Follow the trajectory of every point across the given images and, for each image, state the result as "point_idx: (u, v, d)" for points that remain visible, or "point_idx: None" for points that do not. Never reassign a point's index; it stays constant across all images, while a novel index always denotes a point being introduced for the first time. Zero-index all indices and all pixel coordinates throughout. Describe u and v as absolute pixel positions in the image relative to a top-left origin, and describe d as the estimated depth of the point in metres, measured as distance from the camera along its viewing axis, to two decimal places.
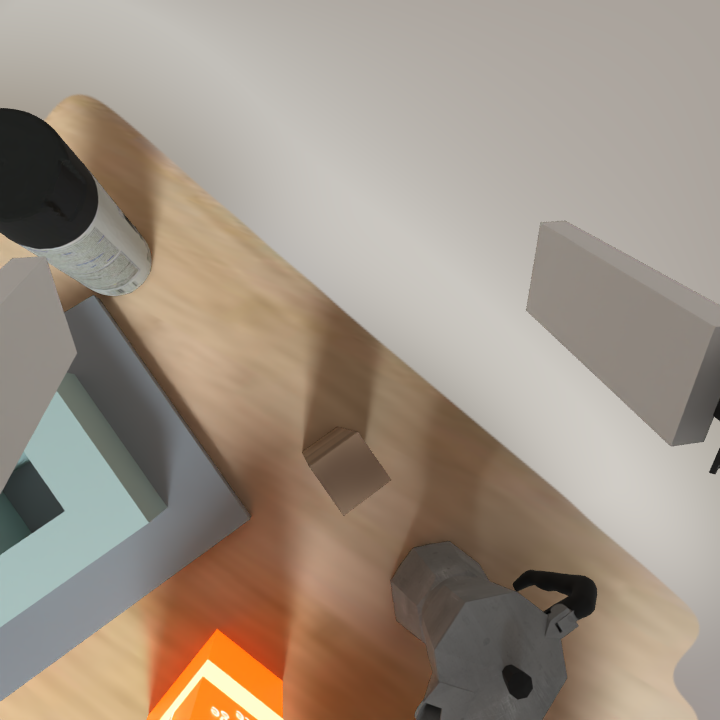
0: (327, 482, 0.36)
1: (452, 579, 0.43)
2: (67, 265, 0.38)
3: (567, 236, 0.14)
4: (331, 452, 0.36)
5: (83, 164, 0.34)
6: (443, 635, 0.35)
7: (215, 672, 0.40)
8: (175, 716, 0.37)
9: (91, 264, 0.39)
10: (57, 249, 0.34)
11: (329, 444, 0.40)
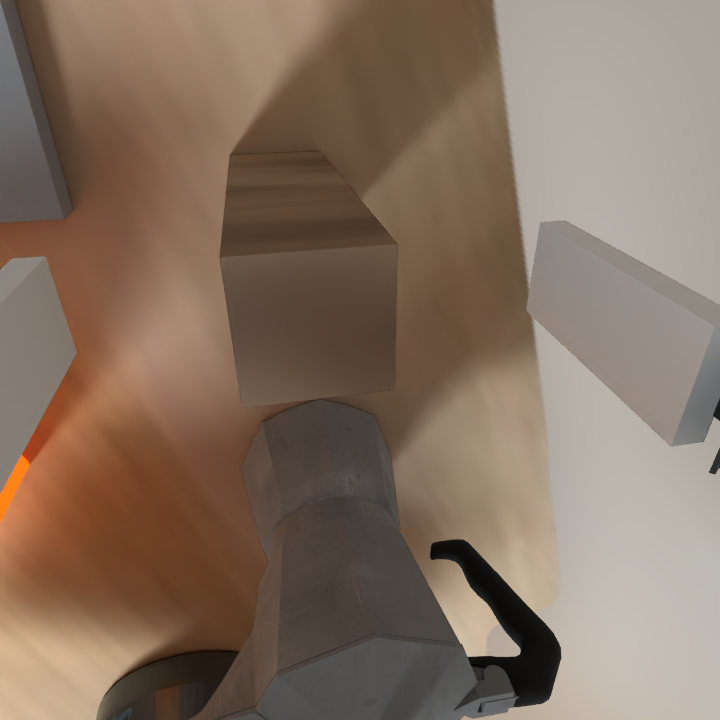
0: (245, 319, 0.12)
1: (357, 505, 0.25)
2: None
3: (568, 236, 0.14)
4: (299, 254, 0.12)
5: None
6: (306, 662, 0.18)
7: None
8: None
9: None
10: None
11: (297, 202, 0.16)
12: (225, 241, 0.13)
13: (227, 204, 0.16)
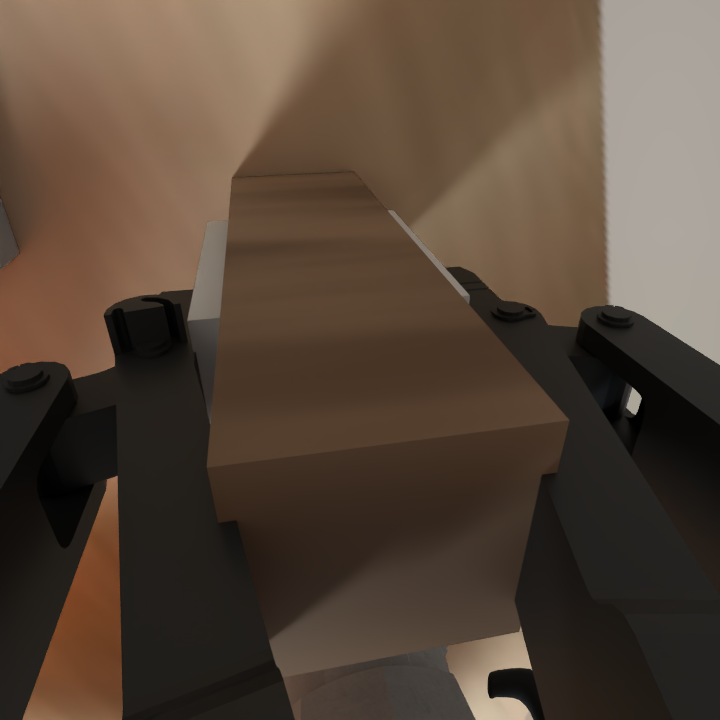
0: (260, 562, 0.06)
1: None
2: None
3: None
4: (373, 451, 0.06)
5: None
6: None
7: None
8: None
9: None
10: None
11: (342, 283, 0.10)
12: (220, 402, 0.06)
13: (226, 286, 0.10)
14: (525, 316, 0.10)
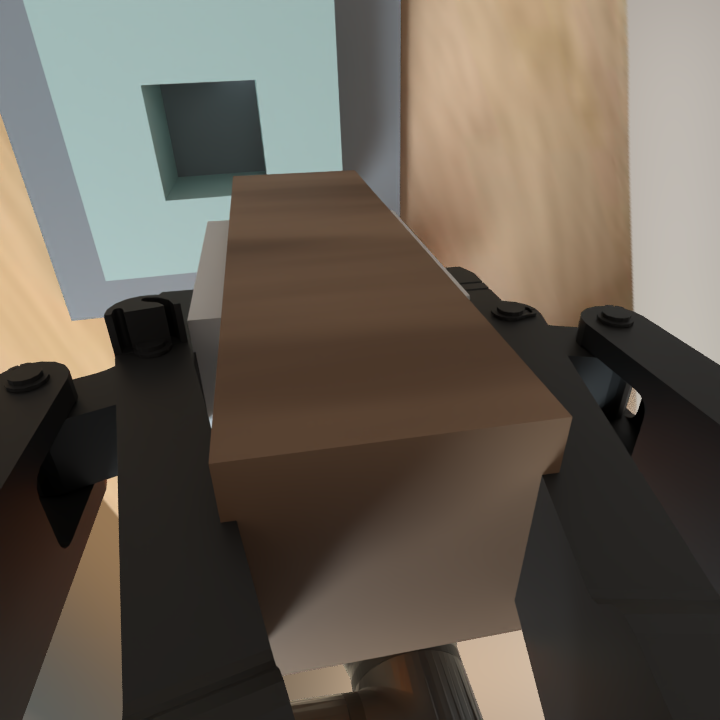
0: (261, 559, 0.06)
1: None
2: None
3: None
4: (376, 447, 0.06)
5: None
6: None
7: None
8: None
9: None
10: None
11: (343, 280, 0.10)
12: (222, 399, 0.06)
13: (228, 283, 0.09)
14: (525, 316, 0.10)
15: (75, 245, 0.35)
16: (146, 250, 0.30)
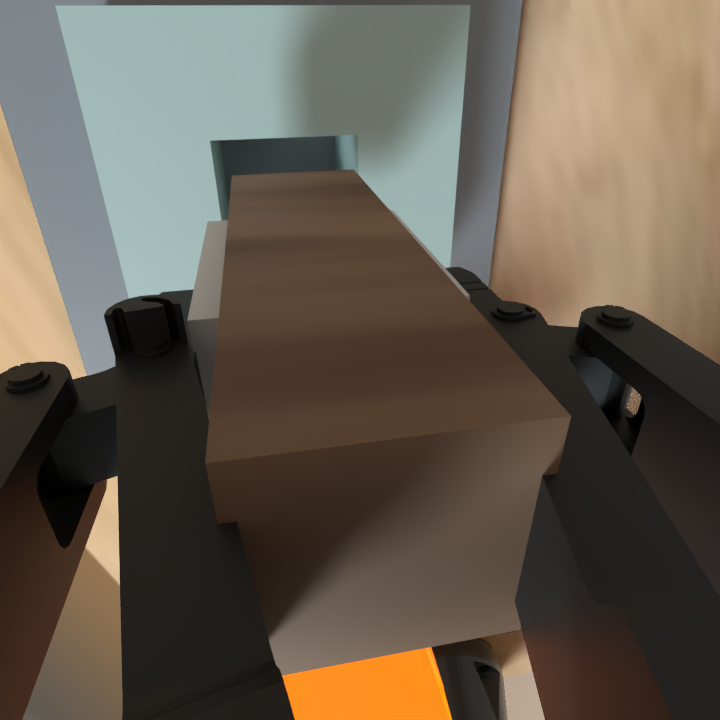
0: (258, 559, 0.06)
1: None
2: None
3: None
4: (374, 446, 0.06)
5: None
6: None
7: None
8: None
9: None
10: None
11: (342, 279, 0.10)
12: (219, 398, 0.06)
13: (226, 282, 0.09)
14: (525, 316, 0.10)
15: (103, 314, 0.29)
16: None
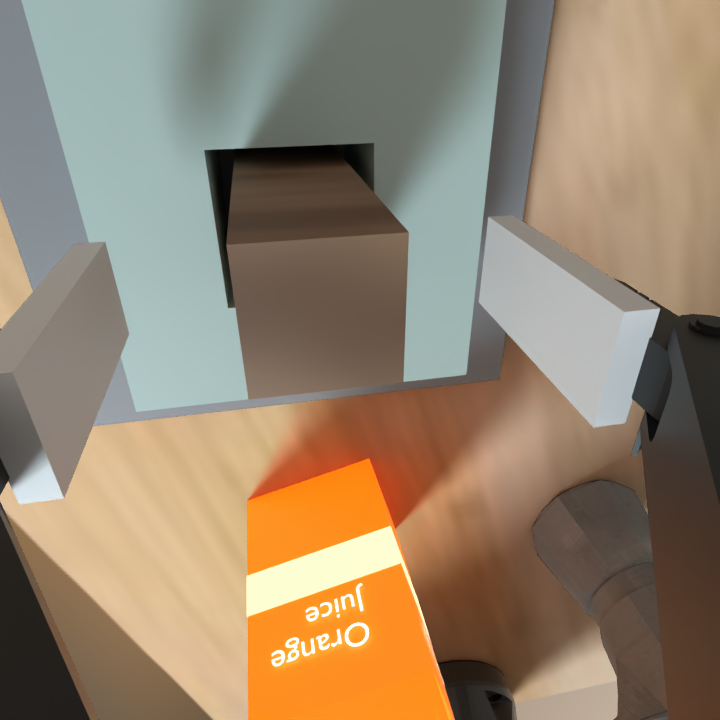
0: (252, 309, 0.12)
1: None
2: None
3: (510, 230, 0.14)
4: (308, 242, 0.12)
5: None
6: None
7: (397, 547, 0.30)
8: (361, 600, 0.27)
9: None
10: None
11: (305, 190, 0.15)
12: (232, 229, 0.12)
13: (233, 192, 0.15)
14: None
15: None
16: (195, 372, 0.21)
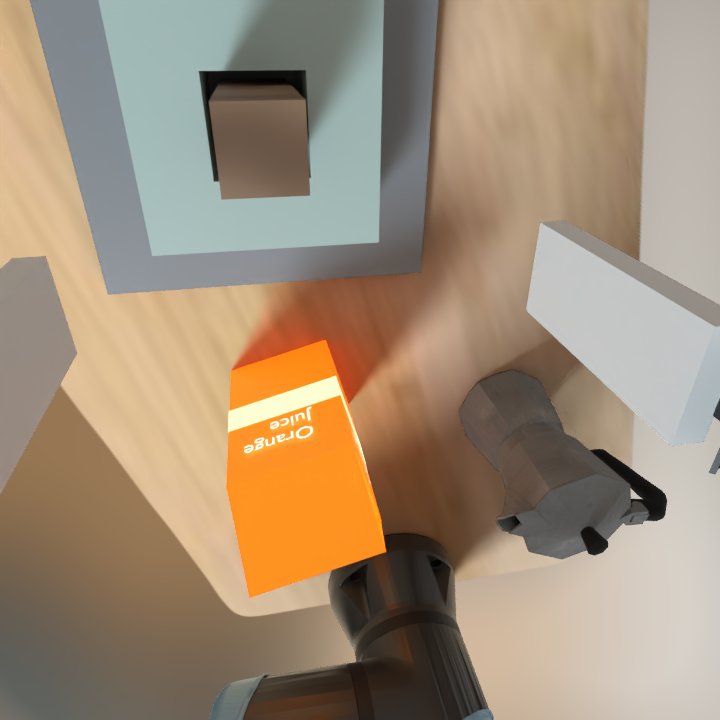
0: (223, 141, 0.23)
1: (552, 426, 0.47)
2: None
3: (568, 236, 0.14)
4: (251, 102, 0.22)
5: None
6: (563, 484, 0.39)
7: (340, 391, 0.41)
8: (310, 416, 0.38)
9: None
10: None
11: (258, 91, 0.26)
12: (212, 98, 0.23)
13: (215, 91, 0.26)
14: None
15: (116, 221, 0.37)
16: (192, 228, 0.32)
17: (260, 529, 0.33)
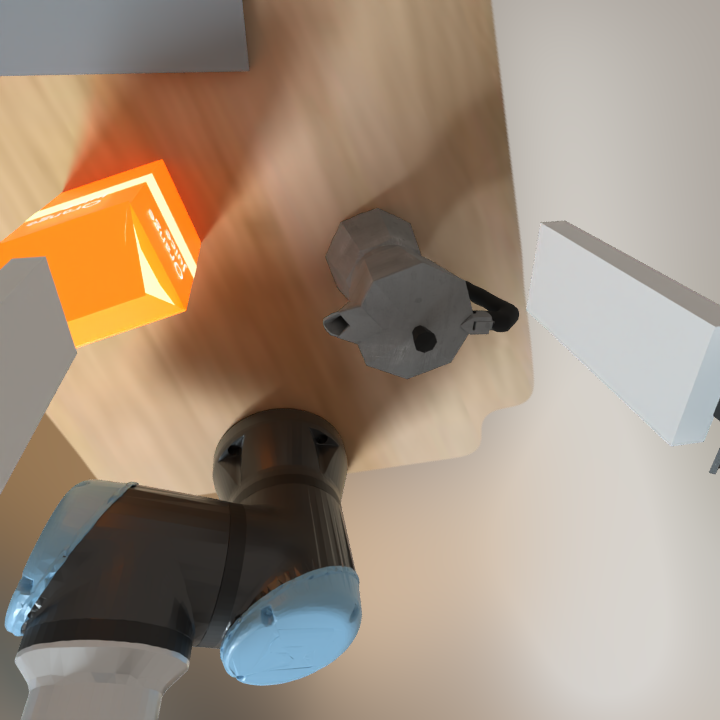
0: None
1: (404, 248, 0.44)
2: None
3: (568, 236, 0.14)
4: None
5: None
6: (387, 275, 0.36)
7: (156, 188, 0.38)
8: (107, 197, 0.35)
9: None
10: None
11: None
12: None
13: None
14: None
15: None
16: None
17: None
